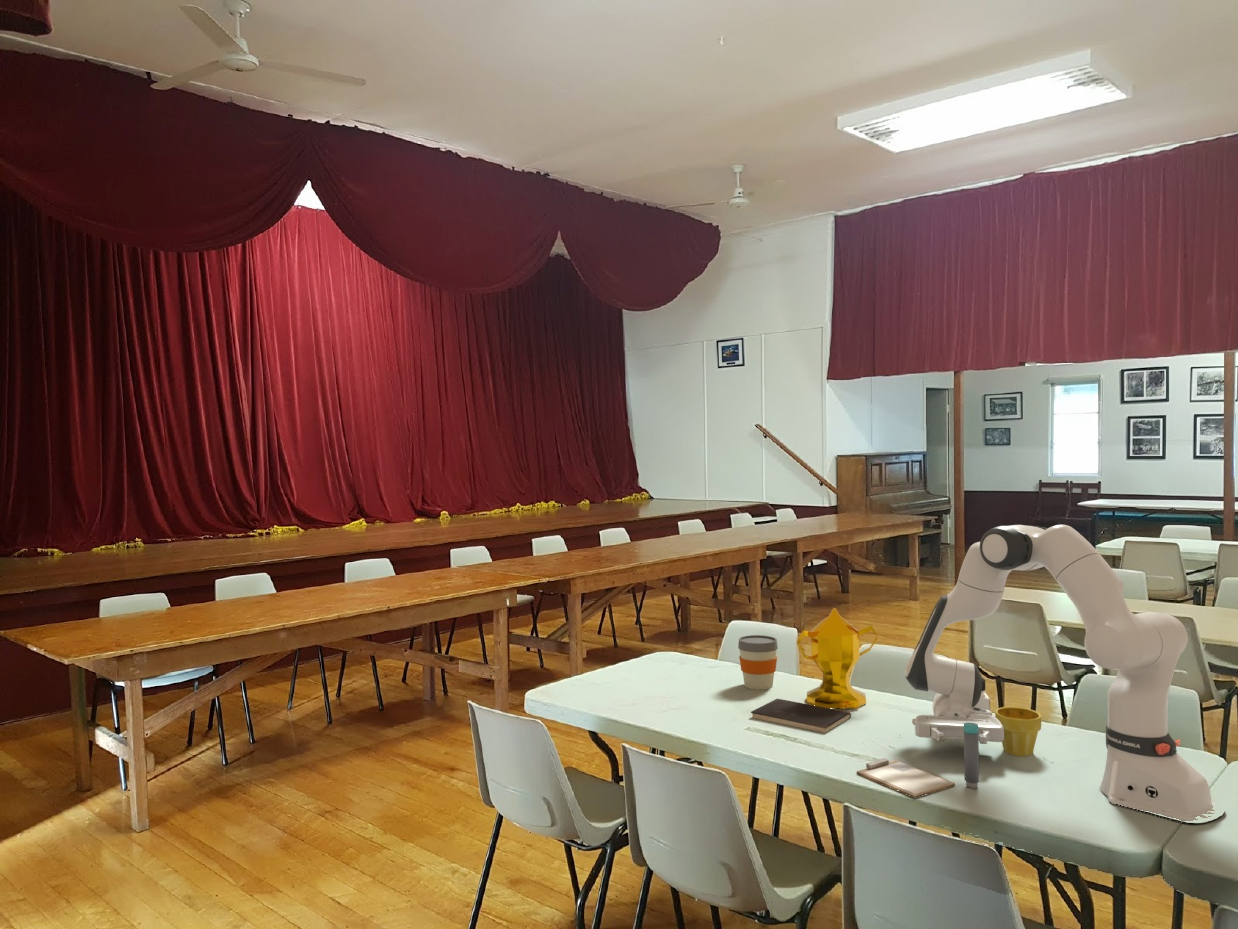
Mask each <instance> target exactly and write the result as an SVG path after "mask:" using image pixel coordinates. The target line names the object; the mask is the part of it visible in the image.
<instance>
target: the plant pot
mask: <svg viewBox="0 0 1238 929" xmlns="http://www.w3.org/2000/svg"><path fill="white" fill-rule="evenodd" d="M994 717H996V718H997V719H998V720H999V721H1000V722H1001V724H1002V725H1003V728H1004V741H1002V742H1001V744H1002V749H1003V751H1004V752H1005V753H1006V754H1008V755H1011V756H1015V757H1029V756H1031V755H1033V754H1034V750H1035V745H1036V742H1037V737H1038V734H1039V732H1040V730H1042V714H1041V713H1040V712H1038V711H1035V710H1033V709H1030V708H1027V707H1020V706H1019V707H1018V706H1002V707H999V708H997V709H995V714H994Z"/></svg>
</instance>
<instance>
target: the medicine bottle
mask: <svg viewBox="0 0 1238 929" xmlns="http://www.w3.org/2000/svg"><path fill="white" fill-rule="evenodd" d="M974 708H979V709H985V710H990V711H991V699H990V697H989V696H988V694H987V693H986V679H985V678H984V677H982V692H981V697H980V699H979V702H978V703H977V705H976V706H975V707H974Z"/></svg>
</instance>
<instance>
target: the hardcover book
mask: <svg viewBox="0 0 1238 929" xmlns="http://www.w3.org/2000/svg"><path fill="white" fill-rule="evenodd" d="M750 714H752V716H751V717H752V719H758V720H762V721H767V722H771V723H772V722H773V723H777V724H782V725H785V726H791V727H796V728H801V729H804V730H805V729H807V730H810V731H814V730H815V732H820V733H824V732H826V733H828V732H830V731H831V730H833V729H834V728H836V727H837V725H838V724H839V725H840V723H841V722H843V721H844V722H846V721H847V720H849V719H850V718H849V717H851V718H852V714H851V712H849V711H845V710H841V709H830V708H825V707H819V706H814V705H811V704H809V703H803V702H797V701H793V700H787V699H782V698H776V699H773V700H771V701H770V702H767V703H765V704H764V705H762V706H759V707H758V708H755V709H753V710H752V711H750ZM848 718H849V719H848ZM846 719H847V720H846ZM845 720H846V721H845ZM844 722H843V723H844ZM841 724H842V723H841ZM839 725H838V726H839ZM835 726H836V727H835ZM833 727H834V728H833ZM811 729H812V730H811ZM830 729H831V730H830ZM829 730H830V731H829Z"/></svg>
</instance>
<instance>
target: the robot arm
mask: <svg viewBox="0 0 1238 929" xmlns="http://www.w3.org/2000/svg"><path fill="white" fill-rule="evenodd" d="M962 561H963V562H962V565H961V567H960V571H959V574H958V578H957V582H956V584H955V586H954V588H952V590H951V591H950V592H948V594H946V595H941V597H940V598H938V600H937V602H936V604H935V605H934V607H933V609H932V611H931V613H930V616H929V618H928V620H927V622H926V624H925V627H924V629H923V631H922V634H920V635H921V636H920V638H919V640H918V642H917V644H916V646H915V648H914V650H913V653H912V654H911V655H910V657H909V659H908V660H907V664H906V666H905V679H906V680H907V682H908V683H909V684H910V686H911V687H912V688H913V689H914V690H917V691H921V692H922V691H924V692H932V693H934V694H935V695H934V697H933V701H932V712H933V714H931V715H930V714H919V715H917V716H916V717H915V718H912V720H911V722H912V723H911V724H912V725H914V732H915V733H914V734H915V736H916V737H919V738H929V739H935V740H937V742H945V740H952V741H964V723H975V724H978V725H979V733H978V740H979V744H980V745H987V744H988V742H989V743H991V742H992V743H1002V741H1004V728H1003V725H1002V724H1001V722H1000V721H999V720H998V719H997V718H996V717H995V715H994V716H993V712H992V711H991V709H990V710H985V709H979V708H974V707H975V706H976V705H977V703H978V702H979V699H980V697H981V692H982V678H983V677H982V674H981V672H980V670H979V668H978V666H976V664H975V663H974V662H973V663H972V662H968V661H965V660H961V659H956V658H955V659H954V658H951V657H946V656H942V655H939V654H938V655H937V654H935V653H934V652H935V649H936V647H937V645H938V642H939V640H940V638H941V635H942V633H943V632H944V630H945V629H946V627H949V625H952V624H954V623H959V622H966V621H967V622H968V621H977V620H981V619H985V618H987V617H989V616H991V615H993V614H994V613H995V612H996V611H997V610H998V609H999V607H1000V605H1001V602H1002V599H1003V595H1004V592H1005V587H1006V583H1007V580H1008V576H1009V574H1010V573H1011V572H1012V571H1020V572H1021V571H1022V572H1023V571H1035V570H1044V569H1046V570H1047V571H1048V572H1049V574H1051V575H1052V577H1053V579H1054V580H1055V581H1056V582H1057V584H1058V585H1059V587H1060V588H1061V590H1063V592H1064V593H1065V594H1066V595H1067V597H1068V598H1069V600H1070V601H1071V602H1072V604H1073V605H1074V606H1075V608H1076V609H1077V611H1078V614H1079V615H1080V618H1081V621H1082V623H1083V626H1084V629H1085V636H1084V642H1083V644H1084V648H1085V652H1086V655H1087V656H1088V658H1089V659H1090V660H1091V661H1092V662H1093V663H1094V664H1095V665H1097V666H1098V667H1100V668H1102V669H1106V670H1115V671H1117V674H1116V677H1115V678H1114V680H1113V681H1112V683H1111V684H1110V685H1109V687H1108V690H1107V724H1106V725H1105V746H1106V749H1107V750H1106V751H1107V752H1106V760H1105V767H1104V771H1103V772H1104V773H1103V777H1102V780H1101V783H1100V786H1099V790H1100V791H1101V792H1102V794H1104V795H1105V796H1106V797H1107V799H1108V802H1109V803H1110V802H1111V804H1113V805H1116V804H1118V805H1117V806H1120V805H1121V806H1120V807H1123V806H1124V807H1123V808H1127V807H1129V808H1128V809H1130V808H1135V809H1138V810H1143V811H1149V812H1152V813H1156V814H1161V815H1164V816H1167V817H1171V818H1176V819H1179V820H1181V821H1193V820H1198V819H1196V818H1195V817H1197V816H1200V817H1202V818H1208V817H1211V816H1208V817H1206V816H1204V815H1202V814H1214V813H1211V812H1208V811H1215V810H1213V809H1212V808H1213V804H1216V803H1213V801H1214V800H1212V795H1211V789H1210V785H1209V782H1208V780H1207V779H1206V778H1205V776H1204V775H1202V774H1201V773H1200V772H1199V771H1197V770H1196V769H1195V767H1193V766H1192V765H1191V764H1189V762H1187V761H1186V759H1184V758H1183V757H1182V756H1181V755H1180V754H1179V753H1178V751H1177V747H1179V746H1180V745H1182V744H1181V738H1180V739H1176V740H1174V739H1173V737H1171V734H1170V733H1169V731H1168V711H1169V710H1168V706H1169V705H1168V703H1169V693H1170V688H1171V683H1172V680H1173V676H1174V673H1175V670H1176V666H1177V663H1178V661H1179V659H1180V656H1181V655H1182V653H1183V652H1184V651H1185V649H1186V648H1187V646H1188V642H1189V637H1188V632H1187V629H1186V627H1185V625H1184V624H1183V623H1182V622H1181V621H1180V620H1179V619H1178V618H1177V617H1175V616H1173V615H1171V614H1169V613H1163V612H1156V611H1145V612H1140V613H1133V612H1132V611H1131V609H1130V608H1129V607H1128V604H1127V602H1126V600H1125V598H1124V596H1123V595H1124V594H1123V592H1124V588H1125V587H1124V583H1123V582H1124V581H1122V578H1120V576H1118V574H1117V573H1116V572H1115V571H1114V569H1113V568H1112V567H1111V565H1109V563H1108V562H1107V561H1106V560H1105V558H1104V557H1103V556H1102V555H1101V554H1100V552H1099V551H1098V550H1097V549H1096V548H1095V547H1094V546H1093V545H1092V544H1091V543H1090V542H1089V541H1088V540H1087V539H1086V538H1085V537H1084V536H1083V535H1082V534H1080V533H1079V531H1077V530H1076V529H1075V528H1073V527H1072V526H1070V525H1067V524H1056V525H1053V526H1050V527H1048V528H1047V527H1044V526H1039V525H1025V524H1024V525H1023V524H1013V525H1011V524H1010V525H998V526H995V527H993V528H992V527H991V528H990V529H989V530H987V531H986V532H985V533H984V534H983V535H982V537H981V538H980V541H977V542H974V543H973V544H972V545H970V546H969V548H968V550H967V552H966V554H965V556H964V559H963V560H962ZM1138 810H1137V811H1138ZM1207 812H1208V813H1207Z"/></svg>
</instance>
